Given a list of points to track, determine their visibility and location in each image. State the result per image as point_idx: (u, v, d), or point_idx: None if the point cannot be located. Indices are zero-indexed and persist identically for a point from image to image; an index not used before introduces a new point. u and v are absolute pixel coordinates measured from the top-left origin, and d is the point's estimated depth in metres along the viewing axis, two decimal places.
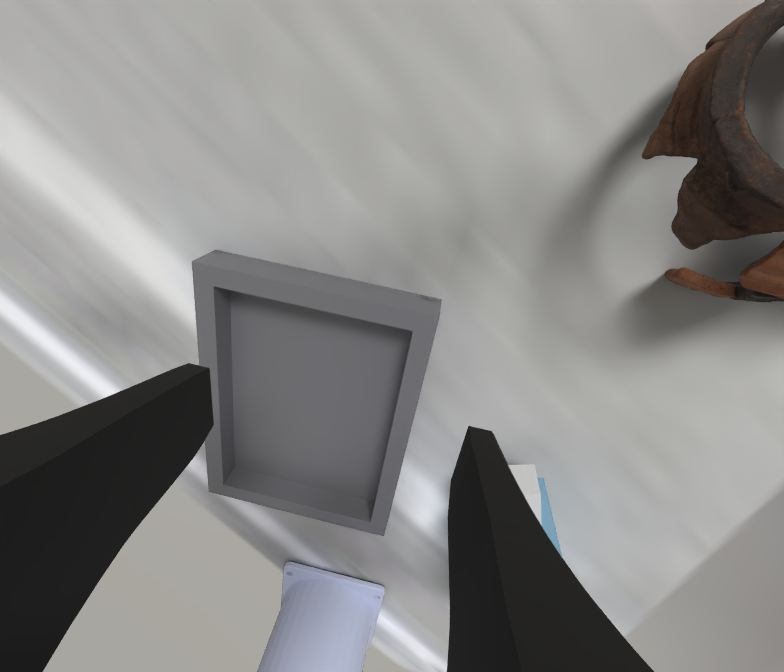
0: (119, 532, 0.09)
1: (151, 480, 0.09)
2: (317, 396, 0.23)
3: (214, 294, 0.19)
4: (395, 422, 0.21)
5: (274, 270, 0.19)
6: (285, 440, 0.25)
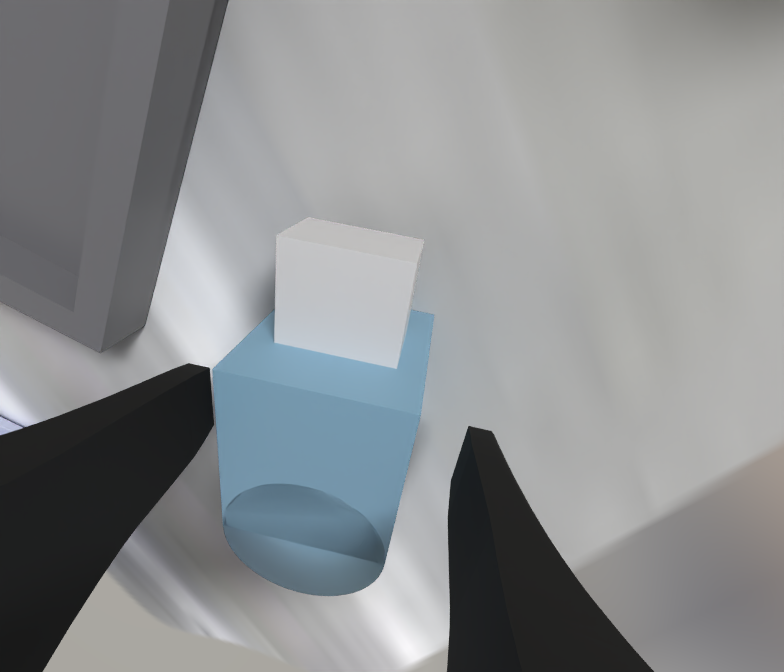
0: (119, 532, 0.09)
1: (151, 480, 0.09)
2: None
3: None
4: (124, 6, 0.08)
5: None
6: None
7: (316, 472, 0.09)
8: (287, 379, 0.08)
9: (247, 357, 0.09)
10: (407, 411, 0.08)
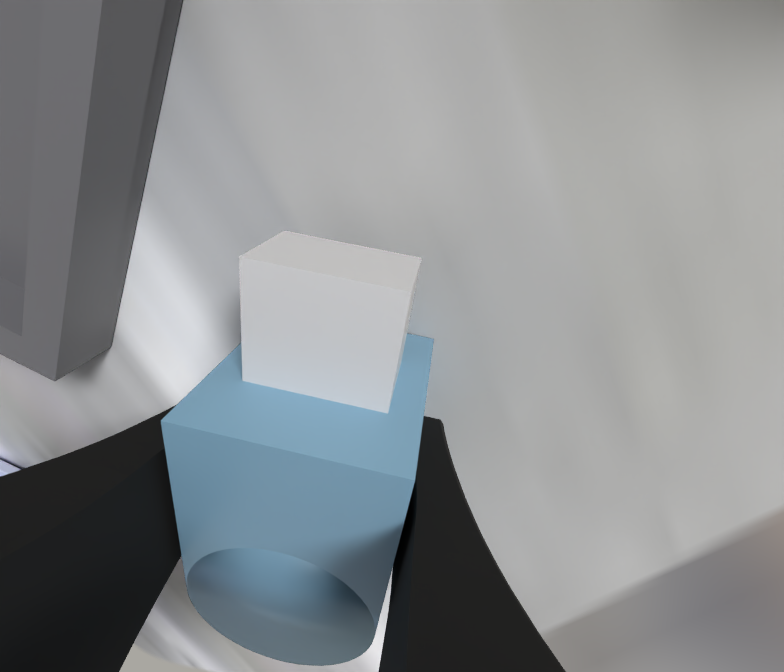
0: (176, 546, 0.09)
1: None
2: None
3: None
4: None
5: None
6: None
7: (291, 538, 0.08)
8: (252, 432, 0.07)
9: (206, 402, 0.07)
10: (398, 476, 0.07)
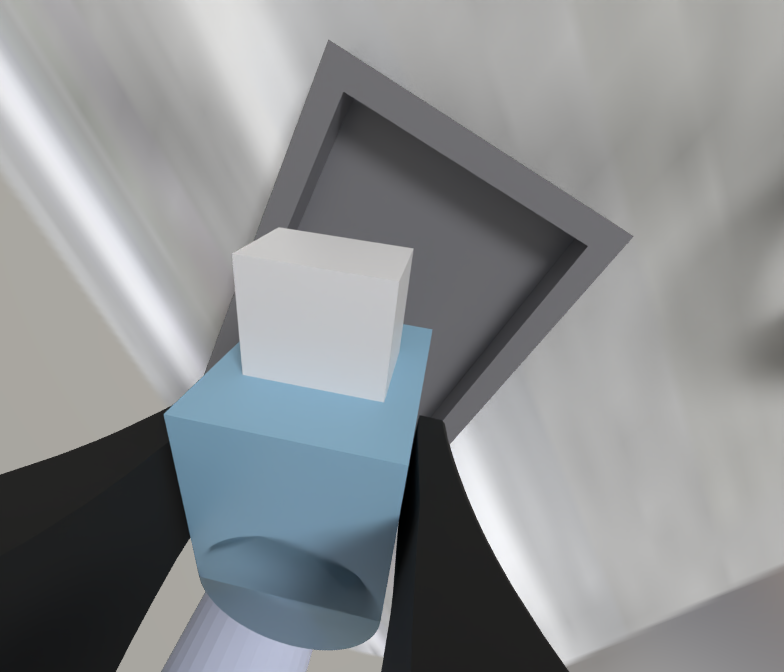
0: (174, 545, 0.09)
1: None
2: None
3: (337, 105, 0.13)
4: (496, 361, 0.16)
5: None
6: None
7: (294, 525, 0.08)
8: (252, 422, 0.07)
9: (207, 396, 0.08)
10: (392, 460, 0.07)
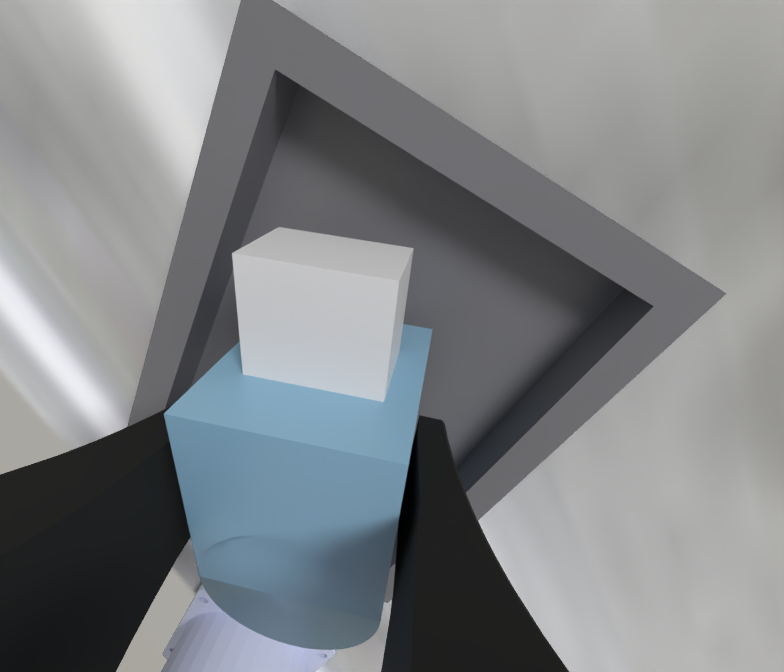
0: (174, 545, 0.09)
1: None
2: None
3: (268, 92, 0.08)
4: (510, 454, 0.12)
5: None
6: None
7: (294, 525, 0.08)
8: (252, 422, 0.07)
9: (208, 395, 0.08)
10: (392, 460, 0.07)
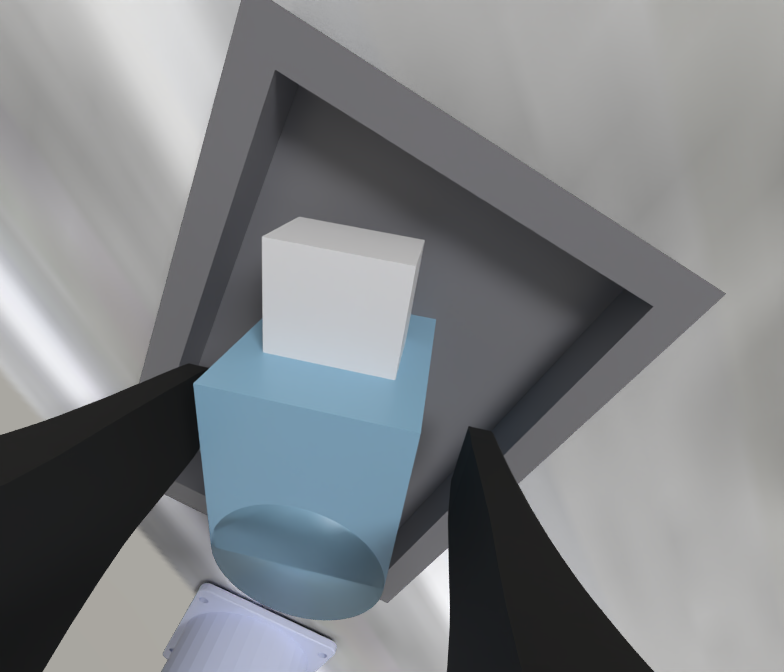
0: (119, 532, 0.09)
1: (151, 480, 0.09)
2: None
3: (268, 92, 0.08)
4: (510, 454, 0.12)
5: None
6: None
7: (308, 493, 0.09)
8: (275, 393, 0.08)
9: (232, 369, 0.08)
10: (405, 429, 0.07)
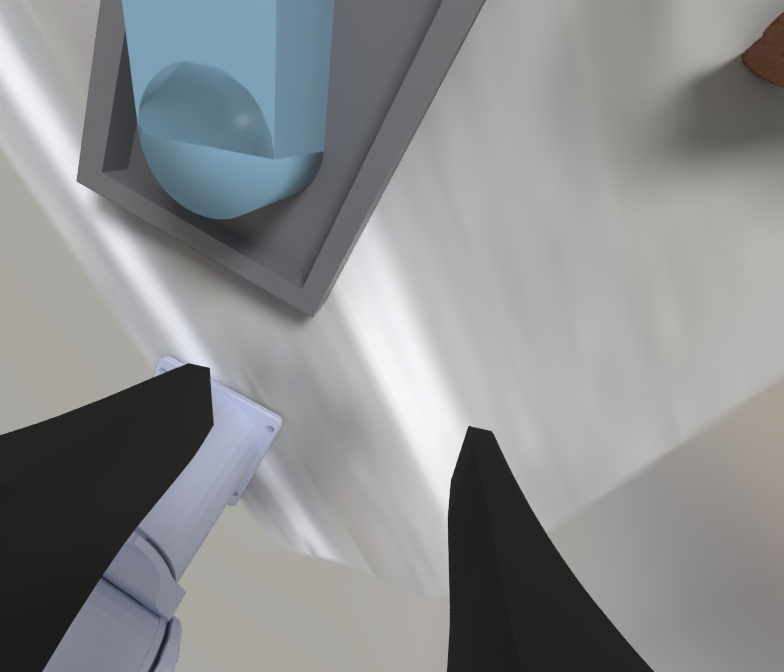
0: (119, 532, 0.09)
1: (151, 480, 0.09)
2: None
3: None
4: (394, 109, 0.14)
5: None
6: None
7: (205, 39, 0.11)
8: None
9: None
10: None
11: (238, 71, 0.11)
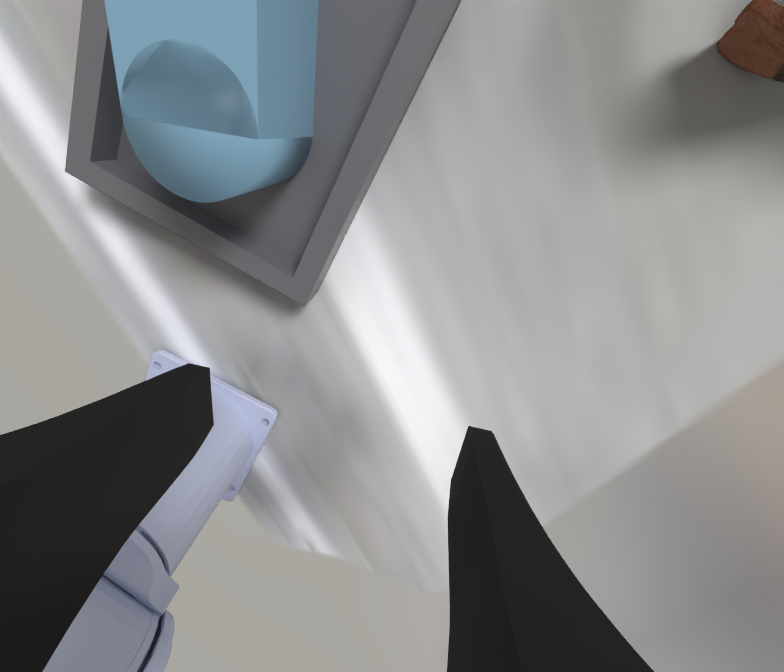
0: (119, 532, 0.09)
1: (151, 480, 0.09)
2: None
3: None
4: (381, 90, 0.14)
5: None
6: None
7: (186, 16, 0.11)
8: None
9: None
10: None
11: (220, 49, 0.11)
